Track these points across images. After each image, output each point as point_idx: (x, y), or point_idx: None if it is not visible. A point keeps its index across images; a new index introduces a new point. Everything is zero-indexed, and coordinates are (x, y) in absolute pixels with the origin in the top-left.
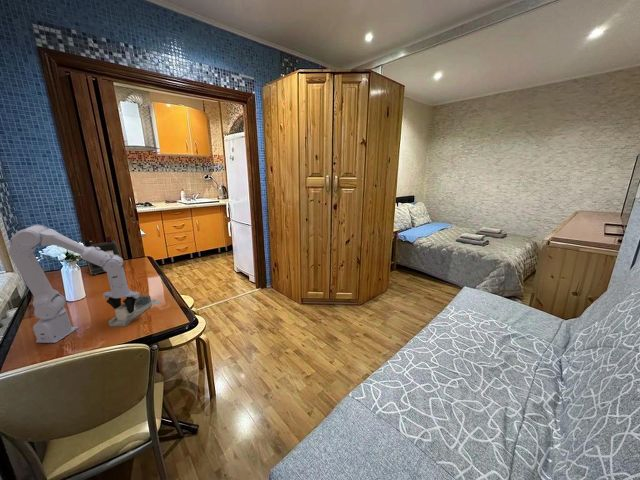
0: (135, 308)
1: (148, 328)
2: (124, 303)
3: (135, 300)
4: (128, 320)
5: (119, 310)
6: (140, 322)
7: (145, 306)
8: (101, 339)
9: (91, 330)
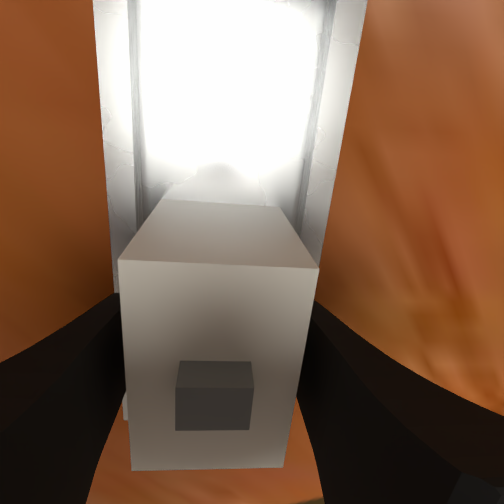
0: (291, 228)
1: (478, 397)
2: (132, 301)
3: (455, 406)
4: None
5: (209, 455)
6: (383, 330)
7: (348, 80)
8: (214, 493)
9: None
